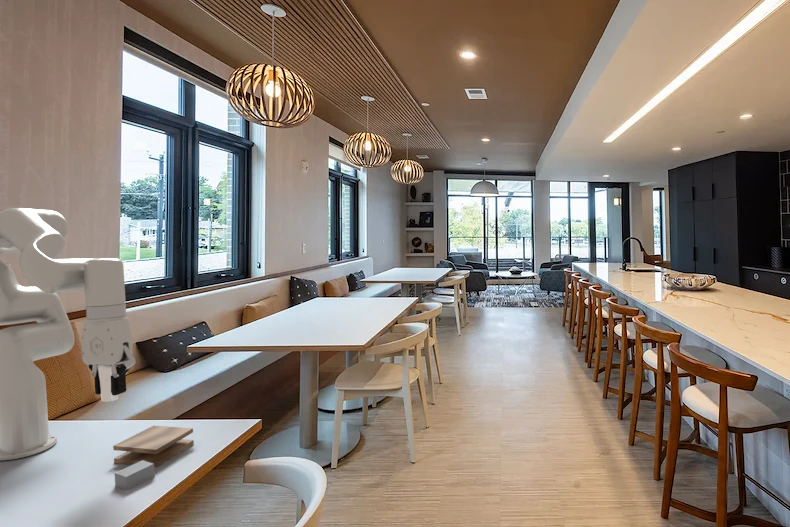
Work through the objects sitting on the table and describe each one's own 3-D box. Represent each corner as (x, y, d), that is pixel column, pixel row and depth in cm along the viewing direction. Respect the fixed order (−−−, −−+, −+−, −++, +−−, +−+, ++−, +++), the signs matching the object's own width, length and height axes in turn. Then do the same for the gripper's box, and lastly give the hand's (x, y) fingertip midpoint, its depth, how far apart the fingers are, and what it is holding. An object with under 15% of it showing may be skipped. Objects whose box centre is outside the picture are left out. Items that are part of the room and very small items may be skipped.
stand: (114, 462, 101) (113, 445, 101) (154, 440, 113) (153, 425, 113) (157, 467, 98) (156, 449, 98) (193, 444, 110) (192, 428, 110)
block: (115, 487, 91) (114, 472, 91) (143, 473, 96) (142, 460, 96) (126, 491, 89) (126, 476, 89) (154, 477, 94) (153, 463, 94)
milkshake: (112, 404, 96) (111, 359, 95) (92, 402, 97) (92, 357, 96) (129, 397, 100) (129, 354, 100) (110, 395, 101) (109, 352, 101)
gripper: (62, 315, 97) (66, 396, 97) (120, 315, 92) (125, 400, 93) (93, 310, 104) (98, 386, 104) (149, 310, 99) (154, 389, 100)
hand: (110, 392), depth 99 cm, fingers closed on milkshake, 4 cm apart
